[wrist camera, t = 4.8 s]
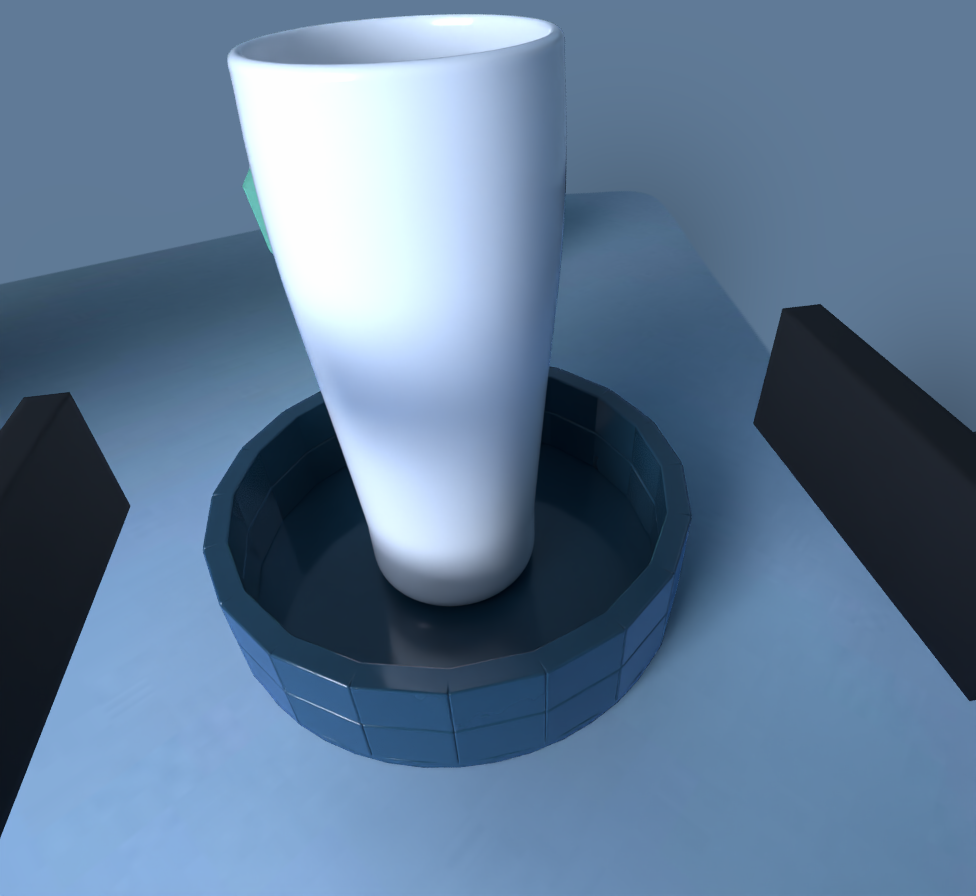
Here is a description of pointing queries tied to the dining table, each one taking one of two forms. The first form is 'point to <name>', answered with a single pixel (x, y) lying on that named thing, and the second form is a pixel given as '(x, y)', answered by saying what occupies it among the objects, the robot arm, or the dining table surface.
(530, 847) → the dining table surface
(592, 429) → the round dark tray
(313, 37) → the drinking glass
